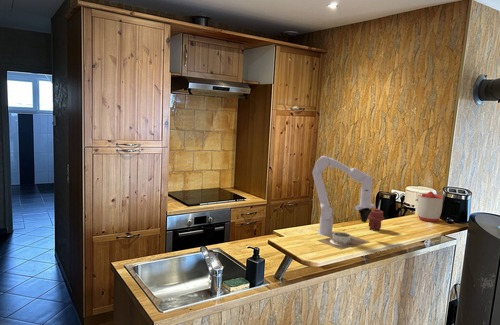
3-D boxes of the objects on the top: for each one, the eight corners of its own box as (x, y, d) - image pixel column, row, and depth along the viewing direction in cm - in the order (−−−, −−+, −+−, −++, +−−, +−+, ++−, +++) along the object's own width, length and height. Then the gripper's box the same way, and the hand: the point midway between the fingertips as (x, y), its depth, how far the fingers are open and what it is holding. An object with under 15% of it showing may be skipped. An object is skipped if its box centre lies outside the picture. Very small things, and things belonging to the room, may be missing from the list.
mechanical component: (386, 231, 219) (372, 232, 217) (376, 226, 229) (362, 227, 226) (388, 211, 218) (373, 211, 215) (378, 207, 228) (364, 207, 225)
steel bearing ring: (339, 238, 199) (339, 231, 199) (353, 243, 192) (354, 235, 192) (328, 241, 193) (329, 233, 193) (343, 246, 186) (343, 238, 186)
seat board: (346, 235, 208) (346, 234, 208) (370, 243, 195) (370, 242, 195) (316, 241, 194) (316, 240, 194) (340, 250, 181) (340, 249, 181)
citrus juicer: (419, 215, 265) (422, 188, 263) (445, 221, 252) (448, 192, 249) (409, 218, 255) (411, 189, 253) (434, 224, 242) (437, 194, 240)
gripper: (363, 199, 193) (361, 225, 194) (380, 197, 201) (378, 221, 203) (352, 197, 199) (350, 222, 200) (369, 195, 207) (367, 219, 208)
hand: (363, 221), depth 202 cm, fingers closed
